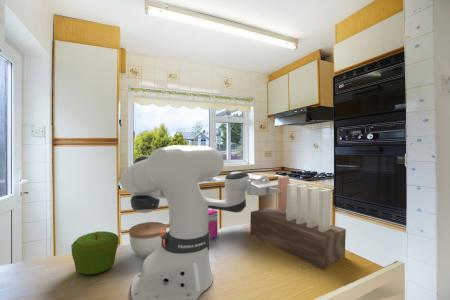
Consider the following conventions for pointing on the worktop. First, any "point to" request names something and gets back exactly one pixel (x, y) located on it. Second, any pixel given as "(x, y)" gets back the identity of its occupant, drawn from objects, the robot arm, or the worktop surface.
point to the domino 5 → (324, 210)
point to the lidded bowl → (146, 238)
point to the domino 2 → (291, 201)
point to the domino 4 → (312, 207)
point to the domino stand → (299, 237)
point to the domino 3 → (301, 204)
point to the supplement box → (212, 223)
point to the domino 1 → (282, 193)
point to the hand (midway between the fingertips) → (285, 190)
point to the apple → (94, 252)
